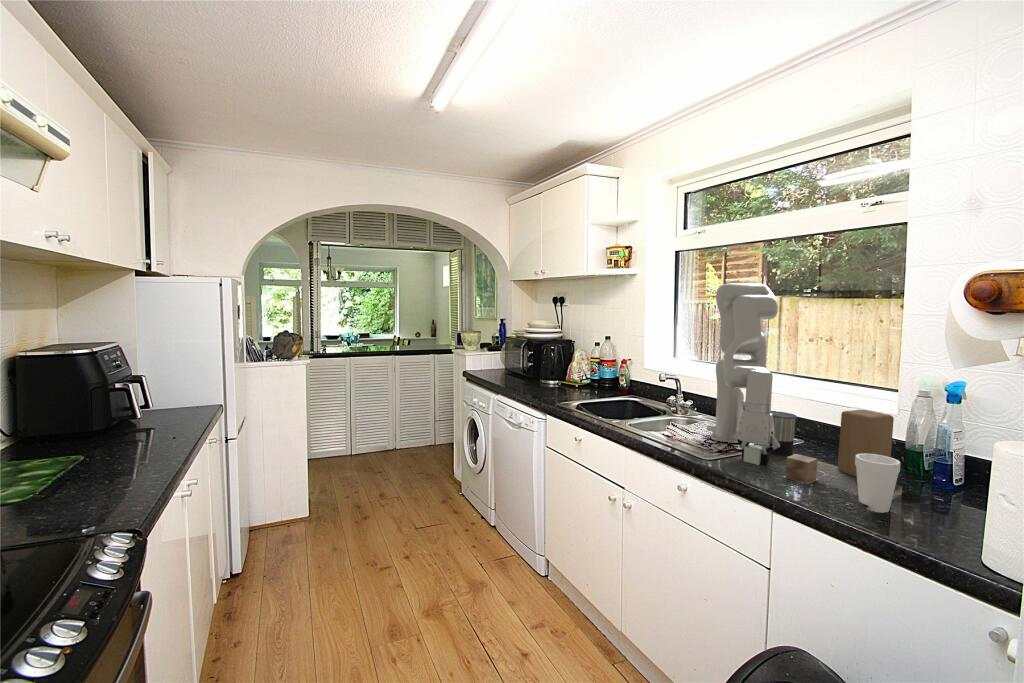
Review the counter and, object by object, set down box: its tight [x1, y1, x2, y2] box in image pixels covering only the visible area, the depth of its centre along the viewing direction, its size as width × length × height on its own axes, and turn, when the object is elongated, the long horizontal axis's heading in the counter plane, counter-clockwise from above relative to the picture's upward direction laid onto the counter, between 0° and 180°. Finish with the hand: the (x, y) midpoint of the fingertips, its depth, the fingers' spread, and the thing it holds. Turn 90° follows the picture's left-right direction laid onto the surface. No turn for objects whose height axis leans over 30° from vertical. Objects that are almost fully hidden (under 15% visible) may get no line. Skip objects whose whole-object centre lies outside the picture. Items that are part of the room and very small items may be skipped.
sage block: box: [742, 444, 763, 466], centre depth 167 cm, size 5×5×6 cm
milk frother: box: [769, 410, 797, 457], centre depth 176 cm, size 14×16×15 cm
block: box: [837, 409, 895, 477], centre depth 156 cm, size 10×10×20 cm
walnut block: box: [785, 453, 818, 484], centre depth 151 cm, size 6×6×6 cm
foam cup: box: [855, 454, 901, 514], centre depth 133 cm, size 10×9×13 cm
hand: (754, 462), depth 167 cm, fingers open, 5 cm apart
